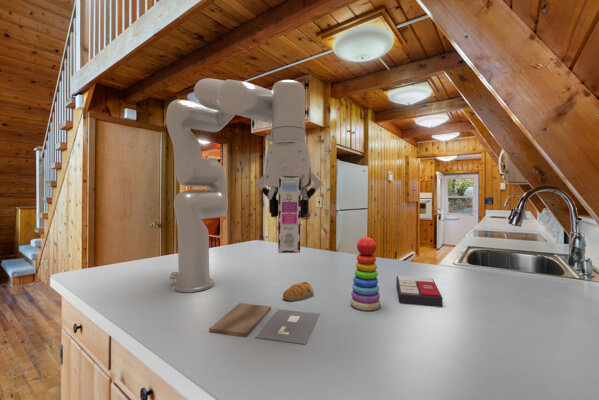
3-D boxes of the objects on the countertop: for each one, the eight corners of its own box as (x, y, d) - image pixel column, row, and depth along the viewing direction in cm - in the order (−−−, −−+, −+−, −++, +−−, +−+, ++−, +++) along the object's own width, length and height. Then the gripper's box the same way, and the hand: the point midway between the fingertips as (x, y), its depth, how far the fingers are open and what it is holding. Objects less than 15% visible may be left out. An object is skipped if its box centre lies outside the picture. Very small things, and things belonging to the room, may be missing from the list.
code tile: (255, 338, 62) (255, 337, 62) (278, 310, 76) (278, 309, 76) (305, 344, 59) (305, 343, 59) (319, 314, 73) (319, 313, 73)
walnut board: (209, 331, 65) (209, 328, 64) (239, 306, 79) (239, 303, 79) (246, 336, 62) (246, 333, 62) (270, 309, 77) (270, 306, 77)
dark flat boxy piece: (399, 291, 80) (396, 273, 95) (399, 306, 80) (396, 286, 95) (442, 295, 77) (433, 276, 92) (442, 310, 78) (432, 289, 92)
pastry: (293, 304, 80) (292, 291, 80) (277, 298, 85) (276, 285, 85) (315, 296, 87) (315, 283, 87) (299, 291, 92) (299, 278, 92)
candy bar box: (301, 253, 62) (301, 176, 61) (278, 253, 61) (277, 175, 61) (297, 243, 73) (297, 178, 72) (277, 244, 73) (277, 178, 72)
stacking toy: (347, 309, 77) (347, 238, 76) (353, 298, 84) (353, 234, 83) (378, 313, 74) (378, 239, 73) (381, 302, 81) (381, 235, 81)
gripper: (246, 137, 65) (247, 217, 65) (323, 133, 60) (323, 219, 61) (259, 142, 72) (260, 214, 73) (328, 139, 68) (328, 216, 68)
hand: (288, 216), depth 67 cm, fingers closed on candy bar box, 6 cm apart
